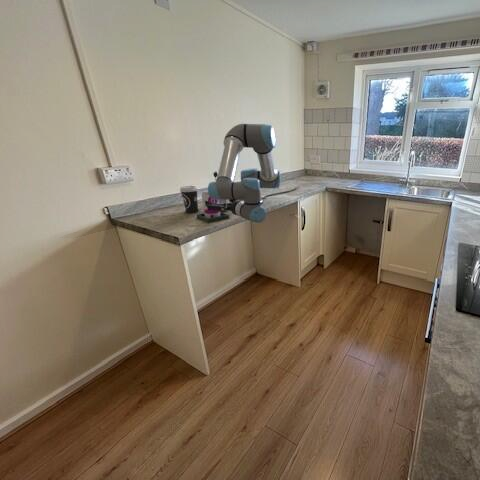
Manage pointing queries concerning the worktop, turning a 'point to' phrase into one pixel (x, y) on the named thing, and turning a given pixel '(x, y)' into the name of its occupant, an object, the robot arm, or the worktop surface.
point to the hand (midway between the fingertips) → (218, 201)
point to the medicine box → (222, 202)
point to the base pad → (203, 218)
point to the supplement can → (207, 212)
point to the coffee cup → (190, 198)
